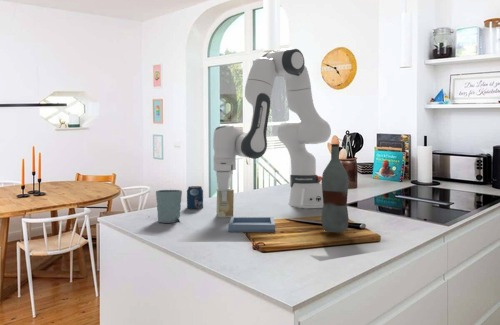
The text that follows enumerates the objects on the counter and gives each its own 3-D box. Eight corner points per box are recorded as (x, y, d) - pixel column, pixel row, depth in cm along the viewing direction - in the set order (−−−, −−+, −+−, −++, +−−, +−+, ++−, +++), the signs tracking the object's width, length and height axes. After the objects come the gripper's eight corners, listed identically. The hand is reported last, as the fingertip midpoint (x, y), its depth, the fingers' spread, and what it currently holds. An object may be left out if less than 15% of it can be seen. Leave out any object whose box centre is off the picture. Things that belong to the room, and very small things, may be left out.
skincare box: (218, 220, 171) (218, 189, 170) (216, 218, 175) (216, 188, 174) (234, 219, 173) (234, 189, 172) (231, 218, 177) (231, 188, 176)
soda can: (198, 215, 183) (198, 187, 183) (184, 215, 186) (183, 187, 185) (205, 213, 190) (205, 186, 189) (191, 212, 192) (191, 185, 192)
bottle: (331, 233, 145) (331, 143, 143) (316, 228, 153) (316, 144, 152) (354, 231, 149) (354, 143, 147) (337, 226, 157) (338, 144, 156)
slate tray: (273, 223, 164) (273, 216, 164) (275, 231, 148) (275, 224, 148) (231, 223, 164) (231, 217, 164) (228, 231, 148) (228, 224, 148)
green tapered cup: (151, 222, 169) (150, 191, 168) (165, 218, 178) (164, 189, 178) (173, 223, 165) (173, 192, 165) (186, 219, 175) (186, 189, 174)
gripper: (219, 164, 183) (219, 196, 184) (214, 167, 163) (214, 203, 164) (234, 164, 183) (234, 196, 184) (230, 166, 163) (231, 203, 163)
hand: (225, 199), depth 173 cm, fingers open, 5 cm apart
